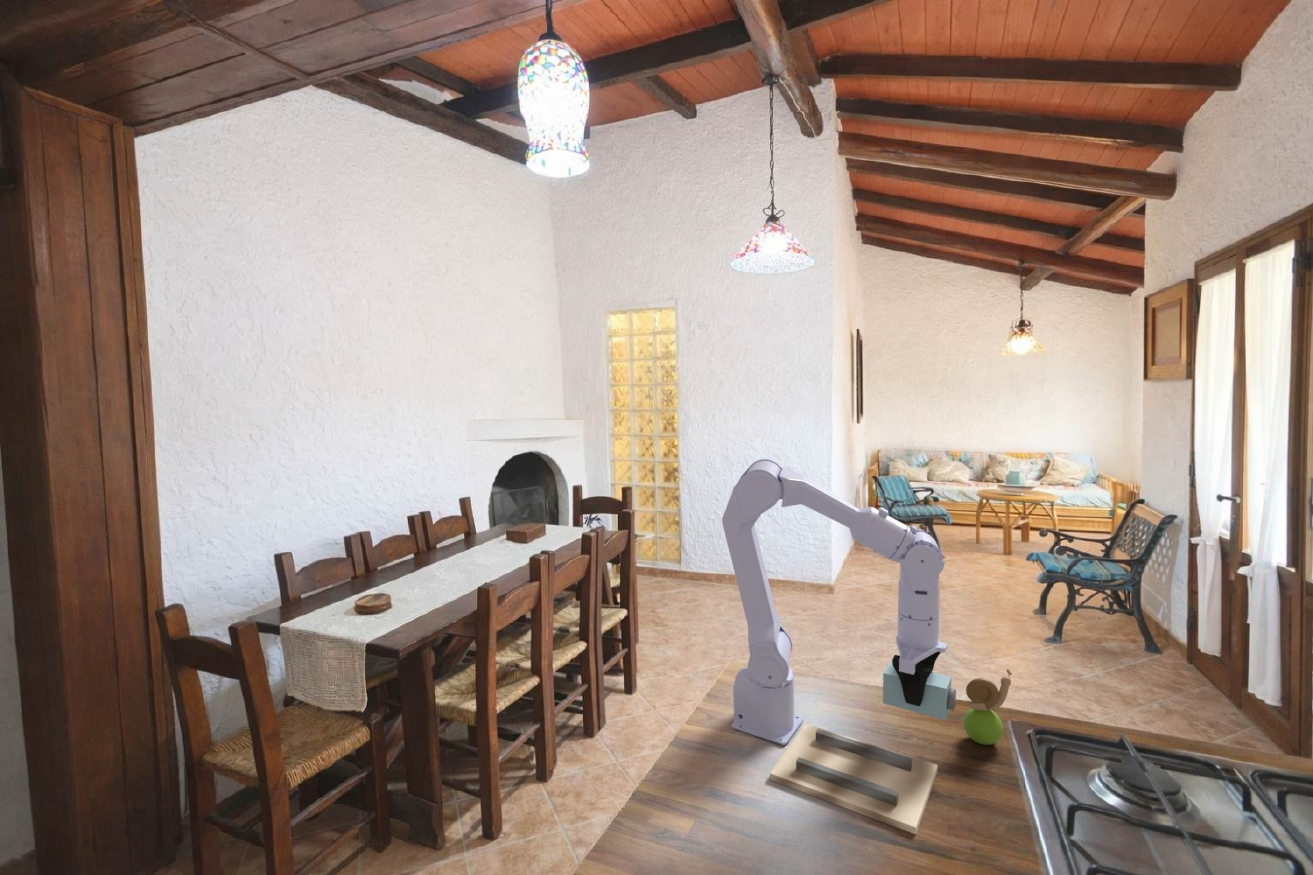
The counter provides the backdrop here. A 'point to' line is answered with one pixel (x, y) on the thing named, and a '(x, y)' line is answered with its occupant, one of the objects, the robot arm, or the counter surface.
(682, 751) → the counter surface
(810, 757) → the jig board
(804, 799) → the counter surface
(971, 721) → the snail figurine
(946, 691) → the pale blue tall carton
